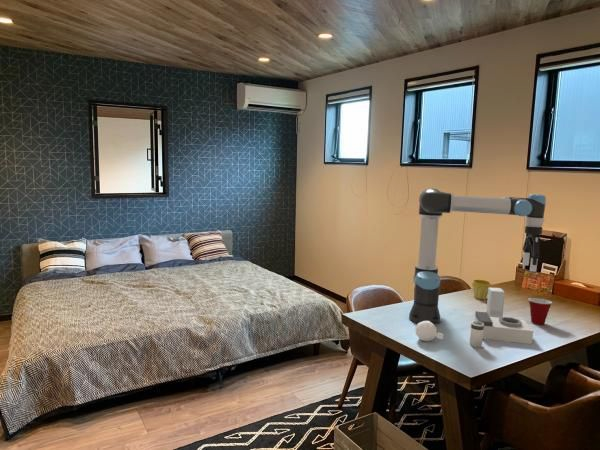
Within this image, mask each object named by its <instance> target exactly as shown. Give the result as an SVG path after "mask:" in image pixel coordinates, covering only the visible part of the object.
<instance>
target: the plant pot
mask: <svg viewBox="0 0 600 450" xmlns="http://www.w3.org/2000/svg"><path fill="white" fill-rule="evenodd" d="M471 282H472V283H471V287H472V288H473V289H472V291H473V297H474V298H476V299H478V300H486V299H487V298H488V288H492V282H490V281H488V280H485V279H473V280H472V281H471Z"/></svg>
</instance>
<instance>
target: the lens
mask: <svg viewBox="0 0 600 450" xmlns="http://www.w3.org/2000/svg"><path fill="white" fill-rule="evenodd" d="M483 329H484V323H482V322H479V321H475V320H472V321H471V323H470V336H469V346H471V347H474V348H482V347H483Z"/></svg>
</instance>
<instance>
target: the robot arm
mask: <svg viewBox="0 0 600 450" xmlns="http://www.w3.org/2000/svg"><path fill="white" fill-rule="evenodd" d="M546 199H547V198H546V196H545V195H544V194H537V193H530V194H528V197H518V196H517V197H514V196H513V197H512V196H504V197H491V196H490V197H487V196H473V195H472V196H470V195H467V196H466V195H454V194H453V193H452V192H443V191H440V190H439V189H437V188H433V187H431V188H426V189H424V190H423V191H422V192H421V193H420V195H419V199H418V202H419V205H418V207H419V208H418V215H419V217H421V219H420V221H421V223H420V235H419V236H420V237H419V249H418V250H419V251H418V262H417V263H416V264H415V265H414V275H413V284H414V294H413V295H414V298H413V303H412V306H411V309H410V312H409V314H408V319H409V320H410V321H412V322H413V323H416V324H418V323H420V322H422V321H430V322H431V323H433V324H434V326H435V325H439V324H440V323H441V314H440V309H439V299H440V298H439V296H440V286H441V277H440V275H439V266H437V264H436V263H437V262H436V260H437V248H438V235H439V223H440V222H439V220H440V219H441V217H443V214H451V213H452V212H460V213H474V214H475V213H476V214H477V213H478V214H494V215H510V216H518V217H525V227H524V233H525V240H524V244H523V246H522V251H523V254H522V255H523V257H522V266H529V272H533V273H535V272H537V267H538V261H539V259H540V258H541V256H540V254H541V253H540V237H538V236H539V235H542V234H543V227H542V226H544V222H545V219H544V216H545V209H546V202H547V200H546ZM530 254H531V255H530ZM529 264H530V265H529Z"/></svg>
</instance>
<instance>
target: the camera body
mask: <svg viewBox="0 0 600 450" xmlns="http://www.w3.org/2000/svg"><path fill="white" fill-rule="evenodd" d="M474 321H479V322H482V323H484V329H483V339H485V340H494V341H501V342H502V341H503V342H510V343H511V342H512V343H519V344H521V343H522V344H529V345H530V344H531V345H532V343H533V336H534V329H532V327H531V326H530V325H529V324H528V323H527V321H526V320H523V319H518V318H514V317H508V316H503V317H501V318H497V317H489V315H488V314H487V311H486V312H485V311H477V310H476V311H475V315H474ZM483 339H482V340H483Z"/></svg>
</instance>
